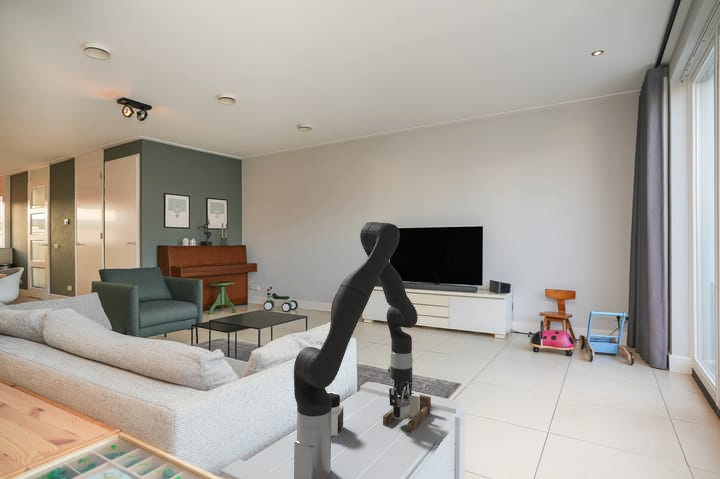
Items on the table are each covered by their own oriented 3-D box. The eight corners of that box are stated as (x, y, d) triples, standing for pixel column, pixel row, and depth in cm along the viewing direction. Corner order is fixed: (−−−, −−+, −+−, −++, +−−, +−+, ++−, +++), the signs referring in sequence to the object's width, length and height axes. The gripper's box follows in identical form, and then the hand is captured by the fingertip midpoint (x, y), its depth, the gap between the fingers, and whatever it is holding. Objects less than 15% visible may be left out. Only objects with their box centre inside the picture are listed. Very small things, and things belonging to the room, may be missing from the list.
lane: (411, 432, 128) (411, 414, 128) (382, 424, 134) (382, 407, 134) (430, 413, 143) (430, 396, 143) (403, 406, 149) (403, 390, 149)
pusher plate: (418, 419, 137) (418, 396, 137) (399, 414, 141) (399, 392, 141) (425, 412, 143) (425, 390, 143) (407, 407, 147) (407, 386, 147)
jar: (405, 421, 129) (405, 406, 129) (388, 416, 132) (388, 402, 132) (412, 414, 134) (413, 399, 134) (396, 410, 138) (396, 396, 138)
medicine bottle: (338, 437, 125) (338, 399, 125) (316, 434, 126) (317, 397, 126) (343, 426, 132) (343, 391, 132) (323, 424, 133) (323, 389, 133)
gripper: (402, 372, 125) (402, 424, 125) (419, 360, 138) (419, 408, 138) (381, 368, 129) (381, 418, 129) (400, 357, 142) (399, 403, 141)
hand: (400, 413), depth 133 cm, fingers closed on jar, 6 cm apart
